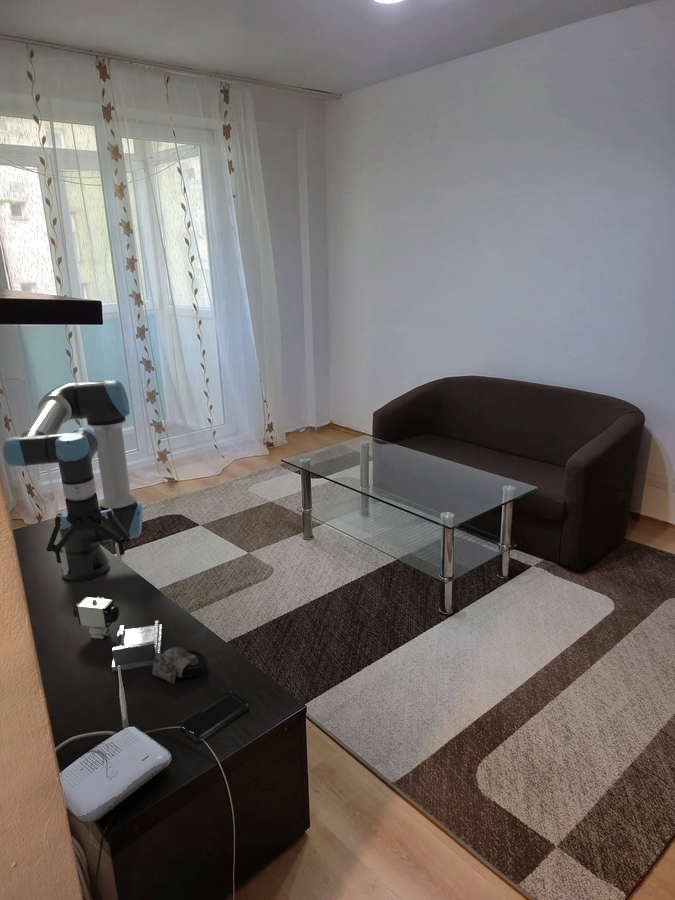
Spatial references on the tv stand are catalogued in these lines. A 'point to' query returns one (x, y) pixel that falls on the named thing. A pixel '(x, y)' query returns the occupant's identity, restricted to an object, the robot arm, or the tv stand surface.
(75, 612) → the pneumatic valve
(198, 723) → the phone
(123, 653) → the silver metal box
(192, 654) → the caster wheel
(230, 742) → the tv stand surface
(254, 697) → the tv stand surface
